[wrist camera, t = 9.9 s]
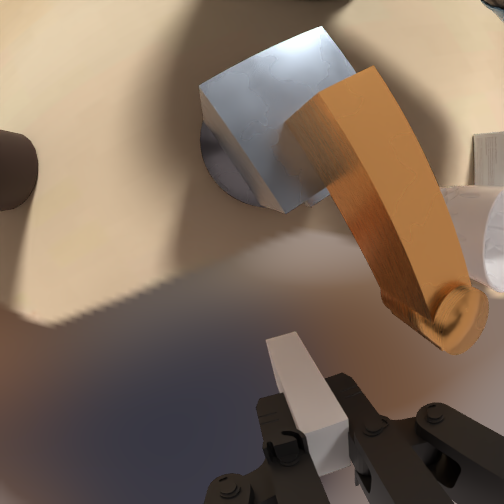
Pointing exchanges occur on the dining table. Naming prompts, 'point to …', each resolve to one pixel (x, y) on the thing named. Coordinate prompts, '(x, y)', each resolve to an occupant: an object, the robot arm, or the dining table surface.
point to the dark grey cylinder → (224, 169)
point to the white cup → (479, 230)
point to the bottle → (16, 169)
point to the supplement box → (489, 158)
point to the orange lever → (349, 174)
